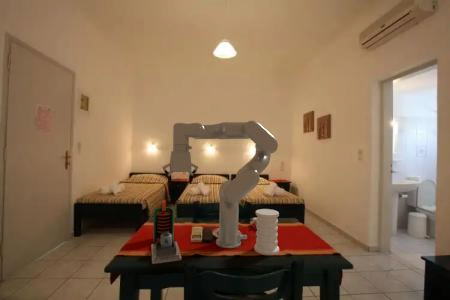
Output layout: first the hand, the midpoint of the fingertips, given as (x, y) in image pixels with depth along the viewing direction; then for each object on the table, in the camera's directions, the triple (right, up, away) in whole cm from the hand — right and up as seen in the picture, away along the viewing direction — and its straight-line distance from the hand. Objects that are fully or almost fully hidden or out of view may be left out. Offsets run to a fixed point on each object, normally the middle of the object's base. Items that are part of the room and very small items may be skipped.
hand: (180, 183), depth 114 cm
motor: (-10, -30, +7) cm, 33 cm away
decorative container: (+42, -31, -3) cm, 52 cm away
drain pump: (-5, -29, -8) cm, 31 cm away
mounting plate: (-5, -30, -8) cm, 32 cm away
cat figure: (+43, -31, +24) cm, 59 cm away
